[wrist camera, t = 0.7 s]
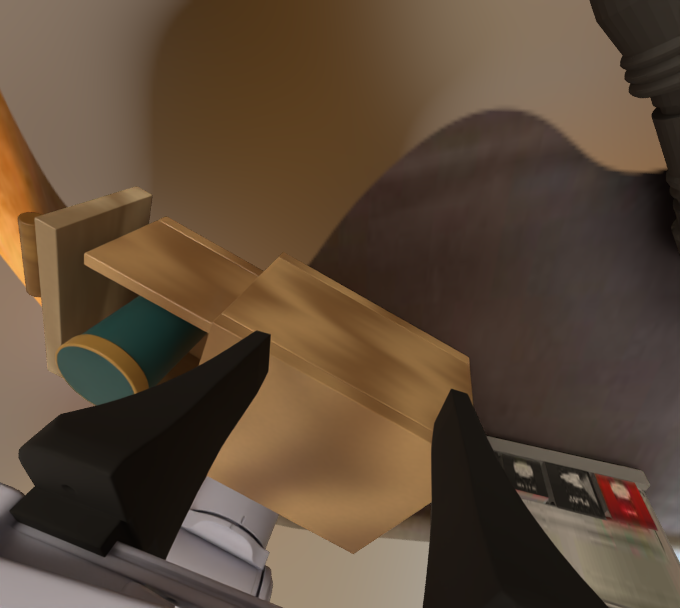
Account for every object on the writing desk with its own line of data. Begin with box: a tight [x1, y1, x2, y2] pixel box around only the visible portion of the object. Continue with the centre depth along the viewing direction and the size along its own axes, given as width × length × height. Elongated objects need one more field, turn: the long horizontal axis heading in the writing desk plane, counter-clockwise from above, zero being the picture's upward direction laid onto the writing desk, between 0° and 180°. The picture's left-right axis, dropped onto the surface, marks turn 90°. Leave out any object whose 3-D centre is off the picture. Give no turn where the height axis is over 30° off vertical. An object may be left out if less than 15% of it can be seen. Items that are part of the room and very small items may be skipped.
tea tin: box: [55, 295, 207, 406], centre depth 22 cm, size 5×5×8 cm
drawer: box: [18, 186, 264, 386], centre depth 23 cm, size 18×12×7 cm
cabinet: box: [199, 252, 473, 554], centre depth 24 cm, size 15×14×9 cm
